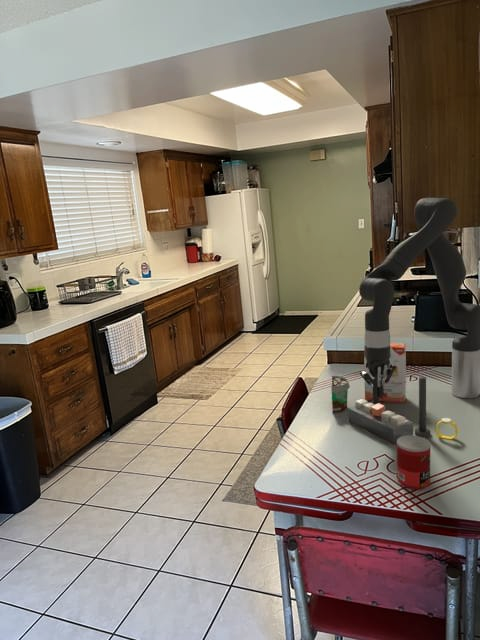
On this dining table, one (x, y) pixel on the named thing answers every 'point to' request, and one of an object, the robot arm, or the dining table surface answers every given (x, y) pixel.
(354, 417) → the breaker strip
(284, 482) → the dining table surface
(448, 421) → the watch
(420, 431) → the stand
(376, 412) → the breaker paddle
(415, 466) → the canned food
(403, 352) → the cracker box
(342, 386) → the food container
